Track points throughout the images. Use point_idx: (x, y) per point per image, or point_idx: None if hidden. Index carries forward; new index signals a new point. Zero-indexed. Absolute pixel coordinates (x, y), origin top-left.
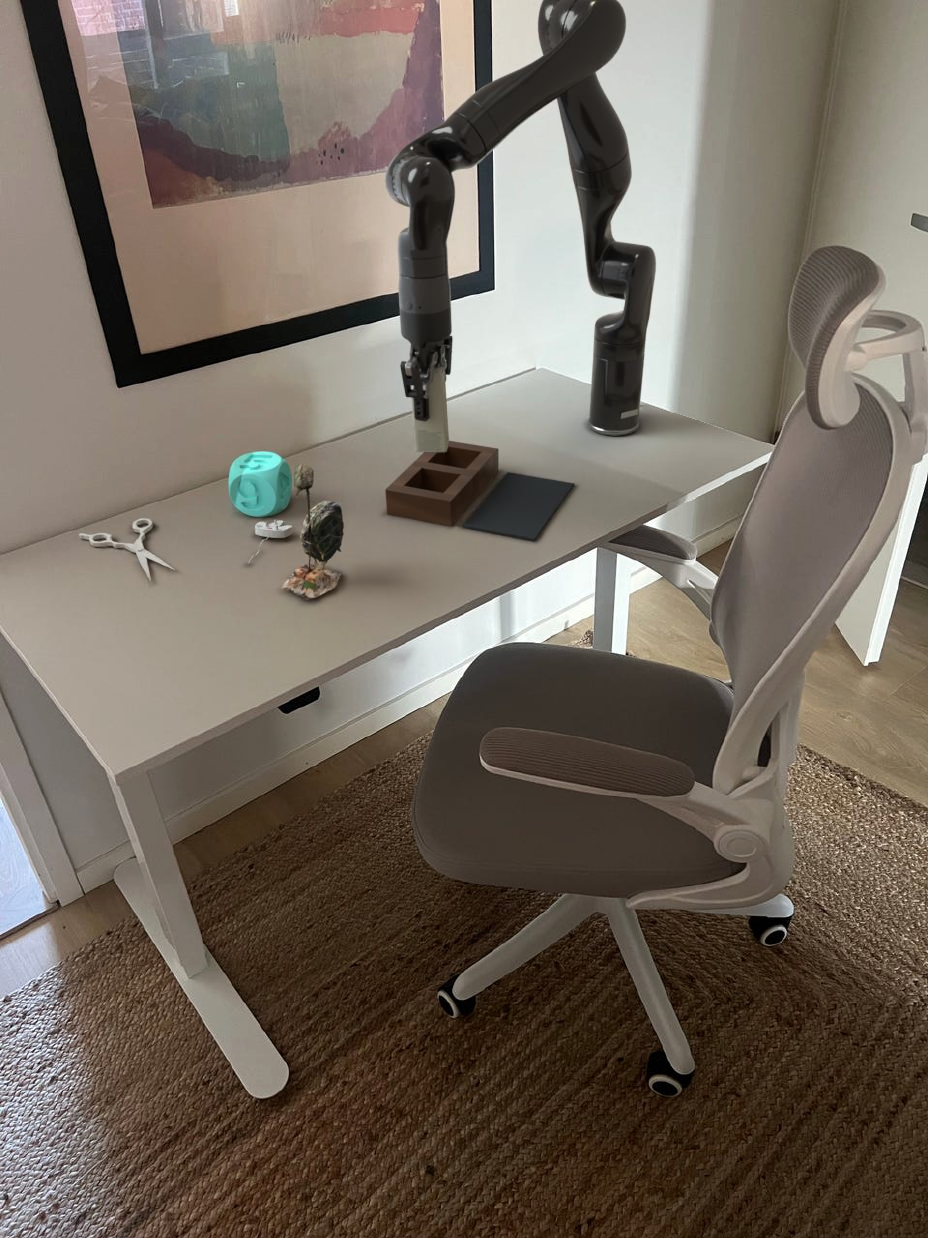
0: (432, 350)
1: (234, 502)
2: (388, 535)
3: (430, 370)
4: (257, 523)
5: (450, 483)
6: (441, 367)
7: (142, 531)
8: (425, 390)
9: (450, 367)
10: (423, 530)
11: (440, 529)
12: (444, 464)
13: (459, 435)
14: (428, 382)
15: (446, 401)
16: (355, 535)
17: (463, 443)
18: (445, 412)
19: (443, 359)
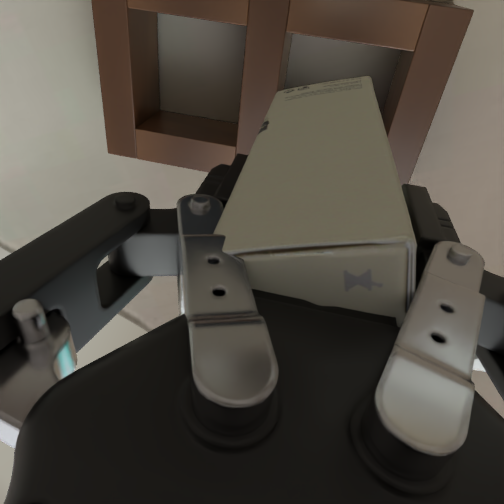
0: (345, 460)
1: None
2: (494, 153)
3: (476, 345)
4: (475, 369)
5: (284, 62)
6: (256, 266)
7: None
8: (479, 278)
9: (101, 207)
10: (472, 77)
11: (468, 32)
12: (157, 114)
13: (3, 120)
14: (484, 295)
15: (261, 146)
16: (489, 217)
17: (104, 80)
18: (336, 125)
19: (215, 290)
